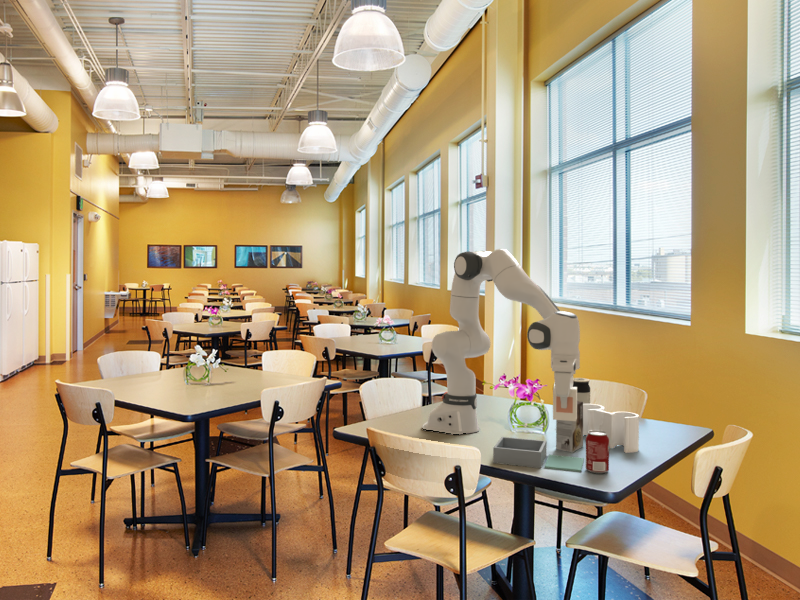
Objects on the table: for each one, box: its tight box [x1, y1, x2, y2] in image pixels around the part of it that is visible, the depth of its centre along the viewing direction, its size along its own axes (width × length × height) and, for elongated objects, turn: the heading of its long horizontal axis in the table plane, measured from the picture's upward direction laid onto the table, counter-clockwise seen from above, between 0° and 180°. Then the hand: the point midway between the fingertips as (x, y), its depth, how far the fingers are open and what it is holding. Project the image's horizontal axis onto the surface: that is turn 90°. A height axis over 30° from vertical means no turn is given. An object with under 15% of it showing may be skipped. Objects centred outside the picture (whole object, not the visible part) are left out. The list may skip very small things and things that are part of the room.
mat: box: [544, 454, 585, 473], centre depth 189 cm, size 11×13×1 cm
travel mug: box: [573, 377, 591, 404], centre depth 242 cm, size 8×8×18 cm
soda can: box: [585, 430, 610, 475], centre depth 181 cm, size 7×7×12 cm
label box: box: [552, 385, 577, 421], centre depth 188 cm, size 4×7×10 cm, turn 69°
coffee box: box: [555, 401, 584, 453], centre depth 206 cm, size 9×6×16 cm
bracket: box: [583, 403, 640, 454], centre depth 212 cm, size 25×10×12 cm, turn 31°
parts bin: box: [492, 436, 547, 469], centre depth 194 cm, size 15×14×5 cm
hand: (565, 406), depth 188 cm, fingers closed on label box, 5 cm apart
